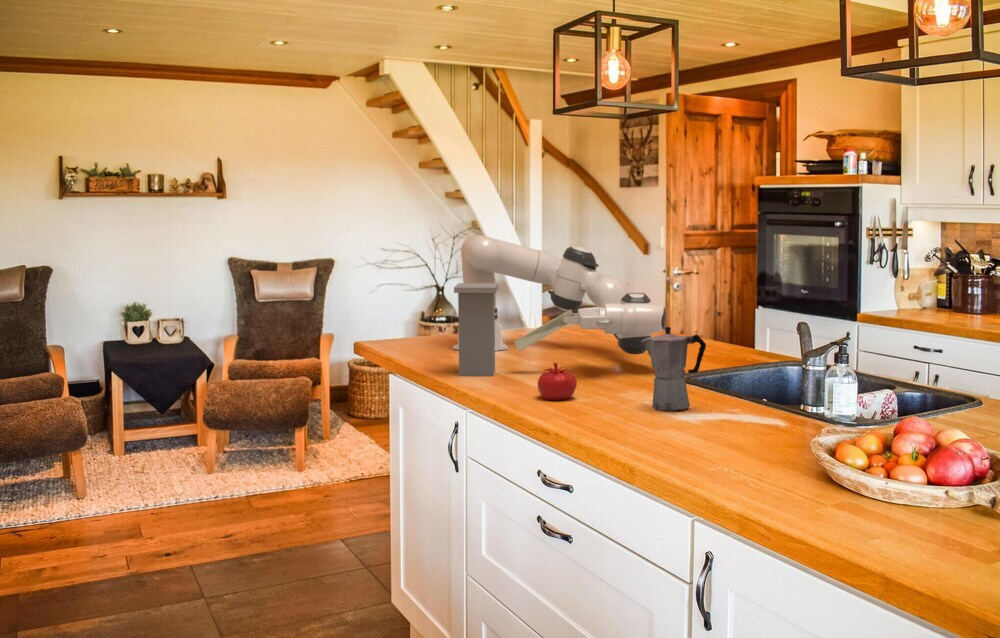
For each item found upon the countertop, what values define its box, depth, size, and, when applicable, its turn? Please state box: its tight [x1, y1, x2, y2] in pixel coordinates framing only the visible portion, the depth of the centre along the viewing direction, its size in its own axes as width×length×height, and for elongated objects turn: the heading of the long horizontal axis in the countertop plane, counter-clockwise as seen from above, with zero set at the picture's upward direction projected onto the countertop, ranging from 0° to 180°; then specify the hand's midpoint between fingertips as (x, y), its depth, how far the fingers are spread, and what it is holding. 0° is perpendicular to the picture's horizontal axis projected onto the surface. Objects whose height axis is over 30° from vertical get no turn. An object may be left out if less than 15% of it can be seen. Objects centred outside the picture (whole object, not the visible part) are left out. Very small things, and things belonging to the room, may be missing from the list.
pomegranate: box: [537, 362, 578, 401], centre depth 241 cm, size 10×10×9 cm
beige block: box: [513, 309, 574, 352], centre depth 275 cm, size 4×19×3 cm, turn 88°
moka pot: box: [641, 326, 707, 412], centre depth 229 cm, size 10×15×20 cm, turn 85°
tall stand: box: [453, 282, 499, 377], centre depth 276 cm, size 14×12×26 cm
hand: (563, 318), depth 274 cm, fingers closed on beige block, 3 cm apart
